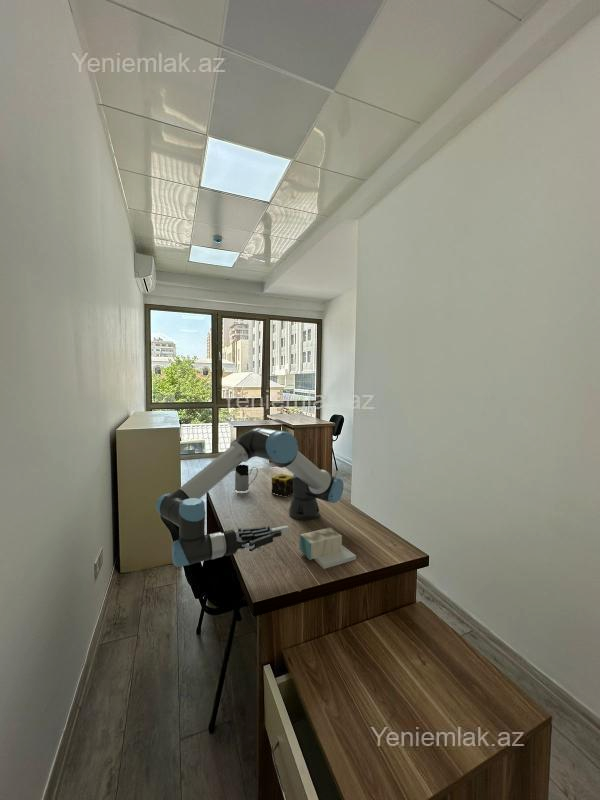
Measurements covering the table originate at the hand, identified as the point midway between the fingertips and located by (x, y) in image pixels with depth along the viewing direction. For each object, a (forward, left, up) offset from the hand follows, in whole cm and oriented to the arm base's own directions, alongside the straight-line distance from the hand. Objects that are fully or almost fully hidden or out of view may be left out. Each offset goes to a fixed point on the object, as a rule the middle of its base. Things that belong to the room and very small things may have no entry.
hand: (287, 529), depth 118 cm
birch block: (0, +7, -8) cm, 11 cm away
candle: (-67, +30, -13) cm, 75 cm away
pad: (0, +17, -13) cm, 21 cm away
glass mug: (-81, +12, -13) cm, 83 cm away
